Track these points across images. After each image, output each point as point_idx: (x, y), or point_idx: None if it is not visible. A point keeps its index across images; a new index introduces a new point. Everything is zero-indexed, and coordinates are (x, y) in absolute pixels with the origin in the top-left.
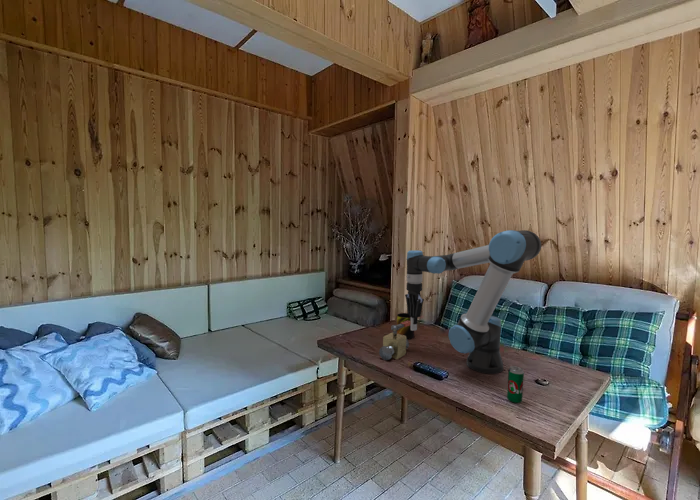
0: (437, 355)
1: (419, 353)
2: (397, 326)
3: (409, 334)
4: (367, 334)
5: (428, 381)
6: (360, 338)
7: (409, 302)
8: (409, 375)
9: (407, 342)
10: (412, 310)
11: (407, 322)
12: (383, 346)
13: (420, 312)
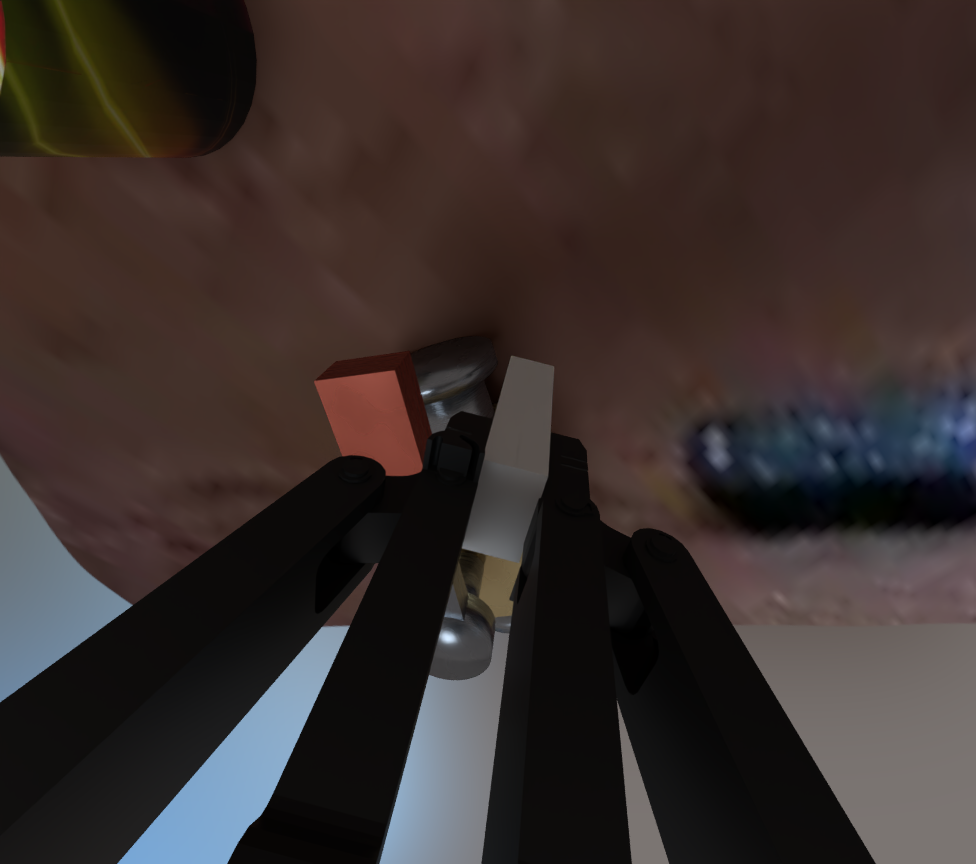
0: (754, 174)
1: (596, 291)
2: (470, 643)
3: (220, 64)
4: (36, 348)
5: (909, 578)
6: (119, 445)
7: (138, 786)
8: (769, 594)
9: (488, 375)
10: (439, 631)
11: (402, 457)
12: (500, 631)
13: (738, 660)
